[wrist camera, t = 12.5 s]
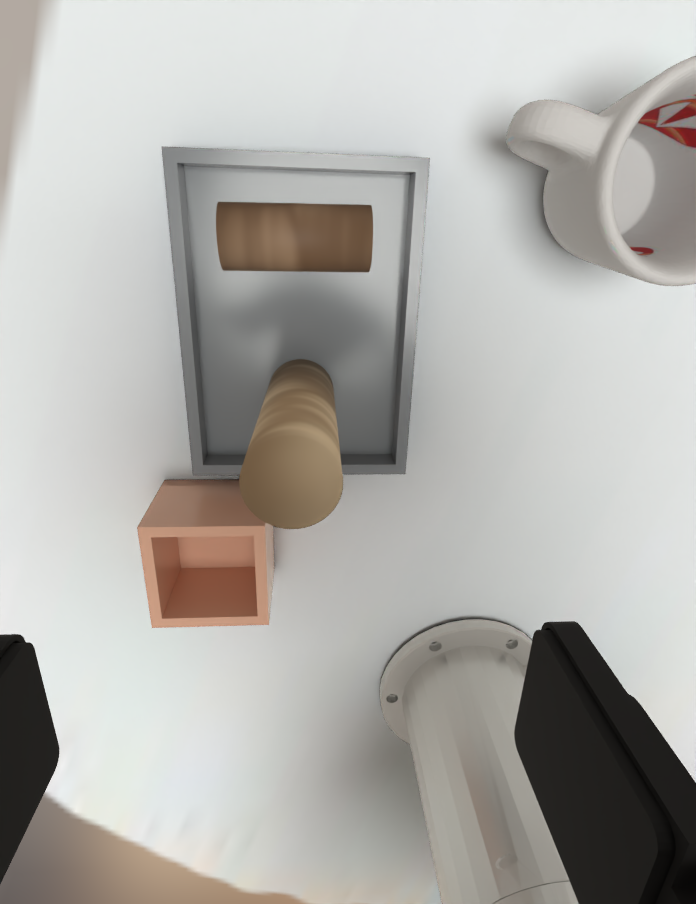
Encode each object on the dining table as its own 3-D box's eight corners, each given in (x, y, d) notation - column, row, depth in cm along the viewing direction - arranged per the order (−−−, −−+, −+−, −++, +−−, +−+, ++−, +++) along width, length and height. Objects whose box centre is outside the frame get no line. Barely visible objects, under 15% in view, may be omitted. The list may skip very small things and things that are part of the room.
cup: (447, 221, 27) (499, 217, 20) (516, 45, 24) (607, -35, 17) (622, 293, 29) (728, 314, 22) (704, 139, 26) (856, 103, 19)
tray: (420, 163, 26) (429, 157, 24) (399, 459, 32) (405, 474, 30) (172, 153, 25) (161, 146, 23) (200, 460, 31) (192, 475, 29)
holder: (271, 479, 32) (265, 525, 27) (274, 566, 34) (268, 624, 29) (164, 479, 32) (137, 527, 26) (175, 568, 34) (151, 627, 29)
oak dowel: (334, 359, 29) (344, 436, 18) (332, 421, 30) (341, 529, 19) (268, 358, 29) (236, 434, 17) (269, 421, 30) (241, 529, 19)
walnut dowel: (369, 192, 25) (374, 227, 23) (364, 249, 27) (369, 285, 26) (219, 189, 24) (213, 224, 23) (228, 247, 27) (223, 283, 25)
